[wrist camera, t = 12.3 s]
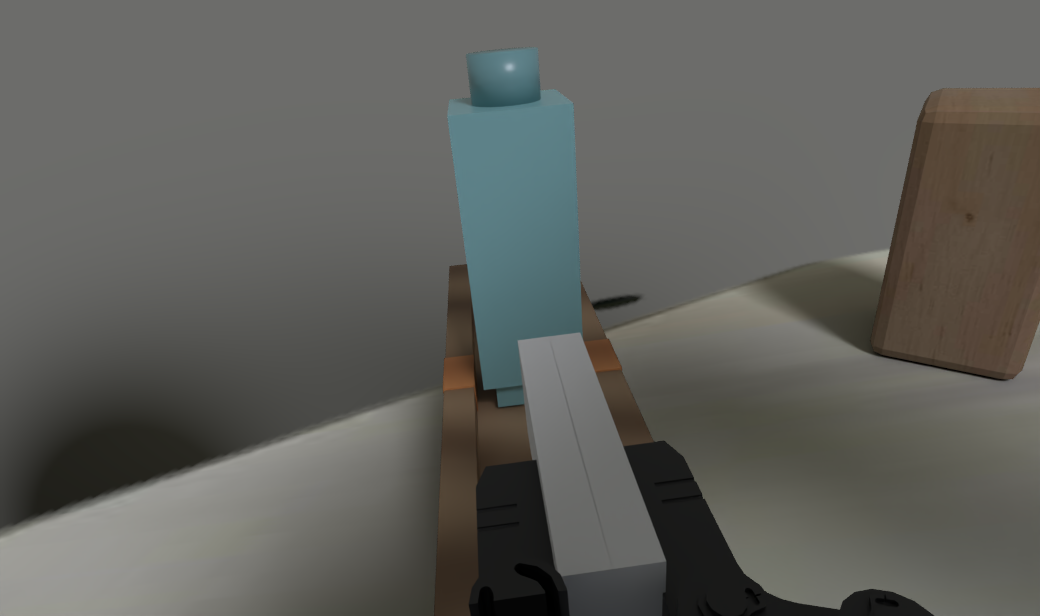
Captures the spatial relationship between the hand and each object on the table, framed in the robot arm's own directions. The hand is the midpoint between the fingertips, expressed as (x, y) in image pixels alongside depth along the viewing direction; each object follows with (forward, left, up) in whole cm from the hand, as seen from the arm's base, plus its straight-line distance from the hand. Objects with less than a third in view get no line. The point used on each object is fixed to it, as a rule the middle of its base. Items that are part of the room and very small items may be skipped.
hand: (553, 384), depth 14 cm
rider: (+15, 0, -10) cm, 18 cm away
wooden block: (+28, -36, -20) cm, 50 cm away
